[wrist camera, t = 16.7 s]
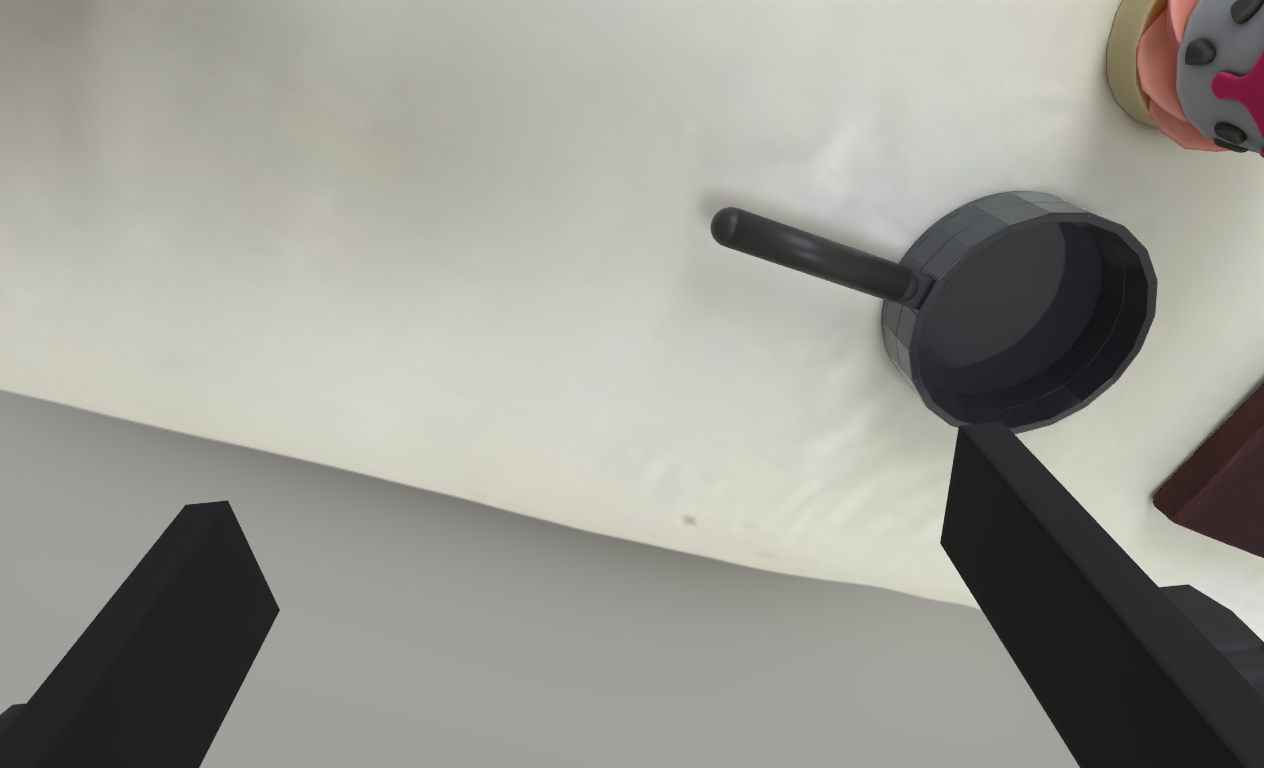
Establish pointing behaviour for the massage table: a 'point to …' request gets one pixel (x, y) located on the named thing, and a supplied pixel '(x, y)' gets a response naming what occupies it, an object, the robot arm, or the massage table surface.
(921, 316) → the pan
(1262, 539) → the book
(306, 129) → the massage table surface
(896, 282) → the pan handle
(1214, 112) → the cake
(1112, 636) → the robot arm
